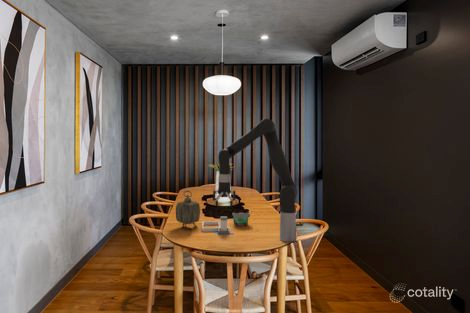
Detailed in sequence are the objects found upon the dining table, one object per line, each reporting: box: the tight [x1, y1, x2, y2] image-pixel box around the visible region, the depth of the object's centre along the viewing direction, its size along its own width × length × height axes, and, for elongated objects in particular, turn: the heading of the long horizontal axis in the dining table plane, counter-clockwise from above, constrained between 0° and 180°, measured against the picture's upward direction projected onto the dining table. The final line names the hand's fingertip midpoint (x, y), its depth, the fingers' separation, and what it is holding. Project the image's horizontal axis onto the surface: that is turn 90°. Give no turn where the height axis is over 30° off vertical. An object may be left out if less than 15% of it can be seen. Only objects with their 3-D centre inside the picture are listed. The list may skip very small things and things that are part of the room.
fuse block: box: [213, 227, 234, 236], centre depth 213 cm, size 12×8×3 cm, turn 94°
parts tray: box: [201, 220, 221, 233], centre depth 225 cm, size 12×18×3 cm, turn 4°
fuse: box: [220, 215, 228, 231], centre depth 213 cm, size 4×4×10 cm
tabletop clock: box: [175, 190, 201, 229], centre depth 227 cm, size 14×9×25 cm, turn 59°
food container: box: [231, 212, 250, 227], centre depth 231 cm, size 12×6×10 cm, turn 101°
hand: (224, 206), depth 212 cm, fingers open, 8 cm apart
